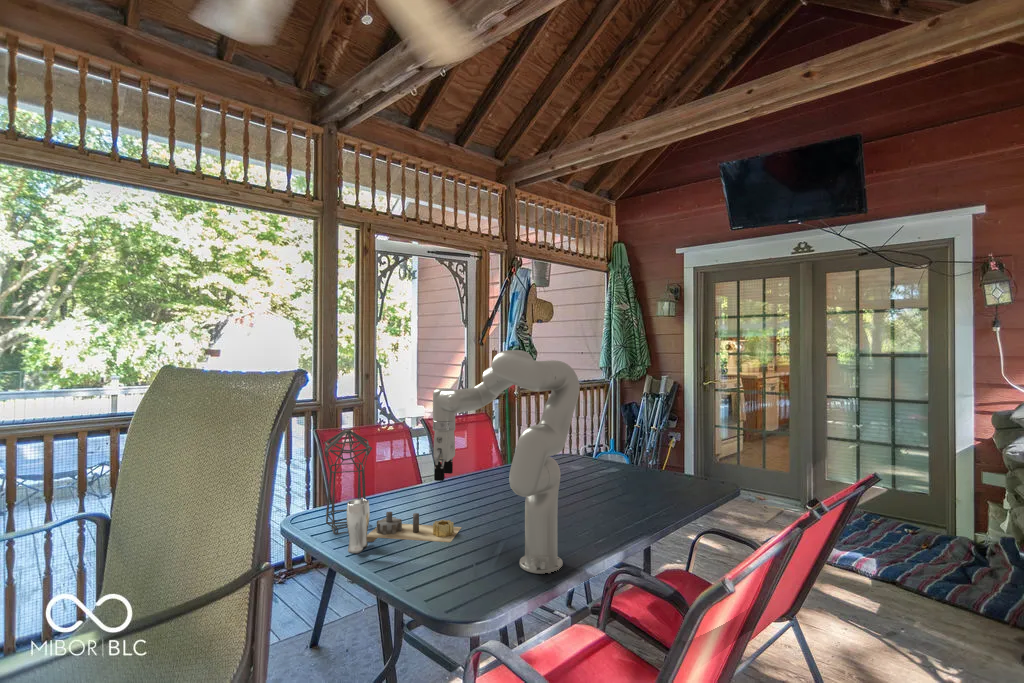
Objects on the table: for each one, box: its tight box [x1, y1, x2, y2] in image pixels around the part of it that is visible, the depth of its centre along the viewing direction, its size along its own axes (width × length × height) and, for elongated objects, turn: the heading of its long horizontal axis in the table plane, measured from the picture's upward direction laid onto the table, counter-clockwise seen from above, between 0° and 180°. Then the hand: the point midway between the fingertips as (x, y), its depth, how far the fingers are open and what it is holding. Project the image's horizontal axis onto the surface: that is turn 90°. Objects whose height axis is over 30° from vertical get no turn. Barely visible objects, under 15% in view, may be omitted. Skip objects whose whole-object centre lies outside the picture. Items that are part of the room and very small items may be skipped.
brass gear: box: [432, 519, 455, 537], centre depth 172 cm, size 7×7×4 cm
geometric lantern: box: [322, 429, 373, 535], centre depth 180 cm, size 16×16×35 cm
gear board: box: [367, 511, 462, 543], centre depth 174 cm, size 14×29×8 cm, turn 81°
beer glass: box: [346, 498, 371, 554], centre depth 162 cm, size 7×7×15 cm
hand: (443, 476), depth 173 cm, fingers open, 9 cm apart
